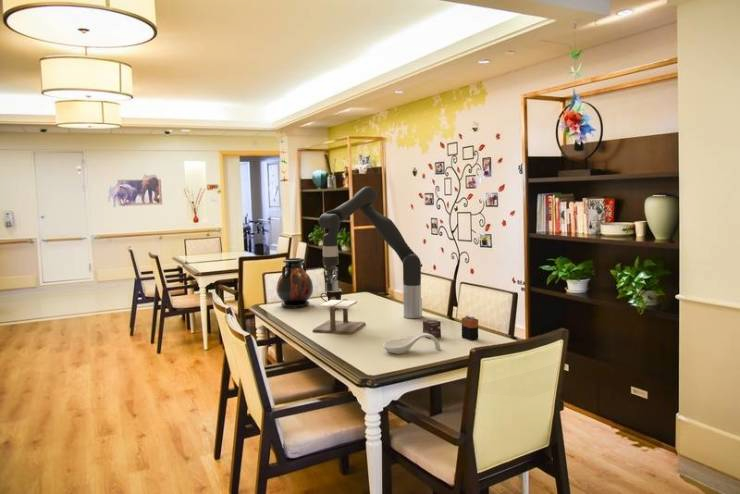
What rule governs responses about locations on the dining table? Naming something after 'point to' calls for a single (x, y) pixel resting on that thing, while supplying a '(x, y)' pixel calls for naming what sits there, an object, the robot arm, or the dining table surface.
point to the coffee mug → (333, 295)
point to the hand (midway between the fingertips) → (331, 289)
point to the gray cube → (334, 286)
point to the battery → (470, 328)
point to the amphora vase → (294, 284)
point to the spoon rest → (407, 343)
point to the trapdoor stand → (339, 324)
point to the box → (432, 328)
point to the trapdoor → (339, 304)
